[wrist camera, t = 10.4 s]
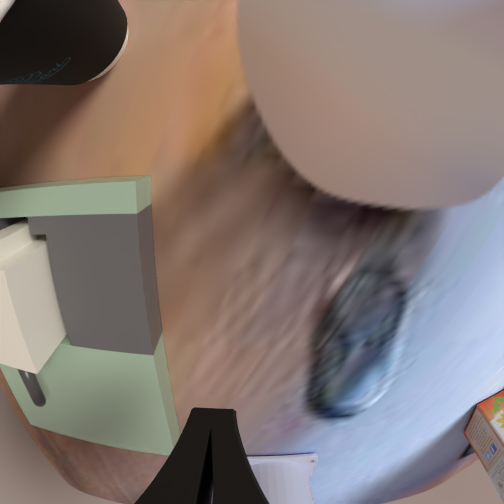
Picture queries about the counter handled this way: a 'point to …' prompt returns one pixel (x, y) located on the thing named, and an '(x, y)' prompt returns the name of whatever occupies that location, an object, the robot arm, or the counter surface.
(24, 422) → the counter surface
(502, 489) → the cracker box
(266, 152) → the counter surface
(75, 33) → the dixie cup
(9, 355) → the plug
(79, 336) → the board
